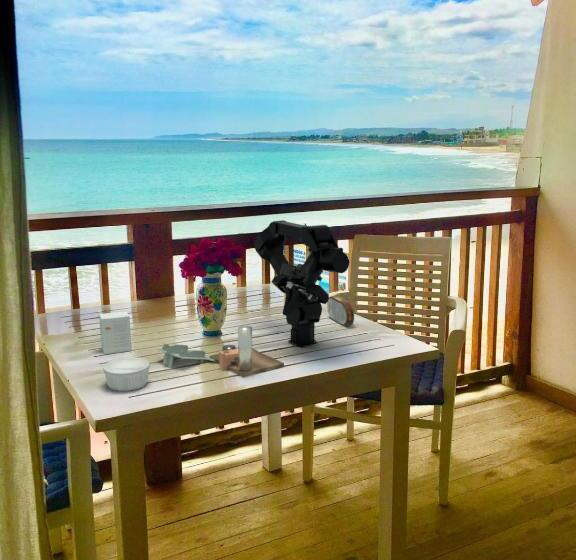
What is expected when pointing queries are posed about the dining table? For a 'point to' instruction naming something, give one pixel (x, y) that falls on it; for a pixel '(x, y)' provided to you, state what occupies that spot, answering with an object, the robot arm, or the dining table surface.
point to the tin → (340, 310)
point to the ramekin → (126, 373)
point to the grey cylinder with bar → (243, 348)
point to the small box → (115, 332)
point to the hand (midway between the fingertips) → (284, 314)
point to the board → (254, 364)
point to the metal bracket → (181, 354)
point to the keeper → (227, 357)
